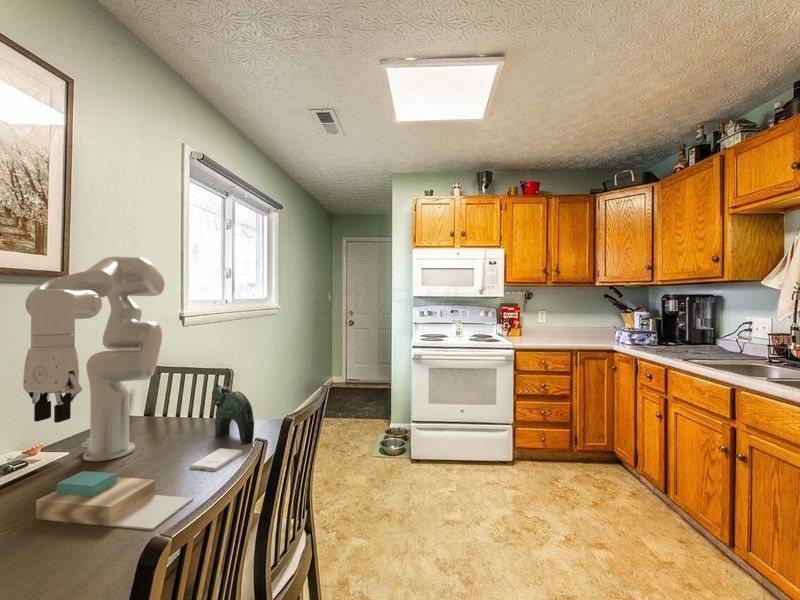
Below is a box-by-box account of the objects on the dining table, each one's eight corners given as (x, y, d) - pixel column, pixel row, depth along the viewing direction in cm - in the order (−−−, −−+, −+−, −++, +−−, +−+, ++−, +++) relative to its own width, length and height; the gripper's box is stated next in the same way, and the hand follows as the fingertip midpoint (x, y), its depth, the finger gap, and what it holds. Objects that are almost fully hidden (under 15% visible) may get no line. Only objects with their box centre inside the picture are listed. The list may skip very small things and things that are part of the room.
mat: (109, 526, 78) (109, 524, 78) (155, 496, 90) (155, 494, 90) (152, 530, 76) (152, 528, 76) (193, 499, 88) (193, 498, 88)
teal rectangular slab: (56, 493, 83) (56, 483, 83) (83, 481, 89) (83, 471, 89) (92, 496, 82) (92, 485, 82) (116, 483, 88) (116, 473, 88)
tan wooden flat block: (36, 519, 80) (36, 500, 80) (89, 491, 92) (89, 475, 92) (109, 526, 78) (109, 506, 78) (155, 496, 90) (155, 479, 90)
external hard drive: (242, 455, 116) (215, 473, 103) (219, 453, 117) (189, 470, 105) (242, 450, 116) (215, 467, 103) (219, 447, 117) (189, 464, 105)
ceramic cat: (209, 434, 132) (209, 378, 132) (226, 429, 137) (227, 375, 137) (242, 447, 121) (242, 385, 121) (259, 441, 126) (259, 381, 126)
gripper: (3, 343, 85) (2, 423, 85) (68, 344, 82) (67, 427, 82) (39, 339, 92) (39, 414, 92) (100, 340, 90) (99, 417, 90)
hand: (52, 419), depth 87 cm, fingers open, 4 cm apart
